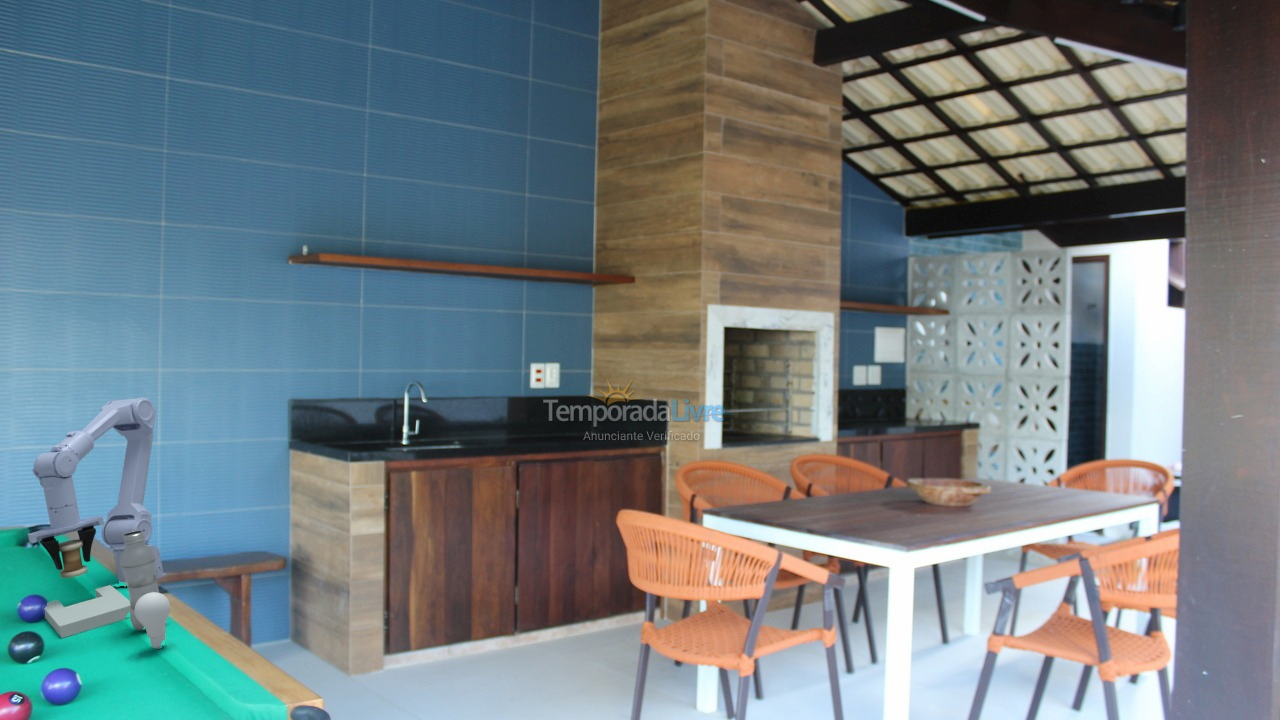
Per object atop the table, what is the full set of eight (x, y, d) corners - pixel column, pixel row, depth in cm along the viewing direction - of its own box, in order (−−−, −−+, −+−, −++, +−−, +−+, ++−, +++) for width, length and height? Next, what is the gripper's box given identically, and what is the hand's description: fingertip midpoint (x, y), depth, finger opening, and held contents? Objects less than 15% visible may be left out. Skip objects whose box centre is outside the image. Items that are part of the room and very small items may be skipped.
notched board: (136, 615, 211) (133, 604, 211) (61, 638, 202) (59, 626, 202) (112, 595, 228) (110, 584, 228) (43, 615, 219) (40, 604, 219)
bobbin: (92, 569, 222) (88, 539, 221) (76, 577, 217) (71, 546, 216) (71, 569, 223) (67, 539, 222) (55, 578, 217) (50, 547, 217)
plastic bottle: (154, 633, 198) (136, 537, 196) (125, 634, 200) (107, 539, 197) (175, 621, 204) (158, 527, 202) (147, 622, 206) (129, 529, 203)
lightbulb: (135, 653, 188) (124, 598, 187) (163, 640, 193) (153, 586, 192) (156, 656, 185) (145, 600, 184) (184, 643, 191) (174, 588, 189)
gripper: (91, 495, 226) (102, 552, 227) (19, 512, 215) (31, 572, 217) (102, 498, 221) (113, 556, 222) (29, 516, 210) (41, 577, 212)
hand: (73, 565), depth 219 cm, fingers closed on bobbin, 5 cm apart
